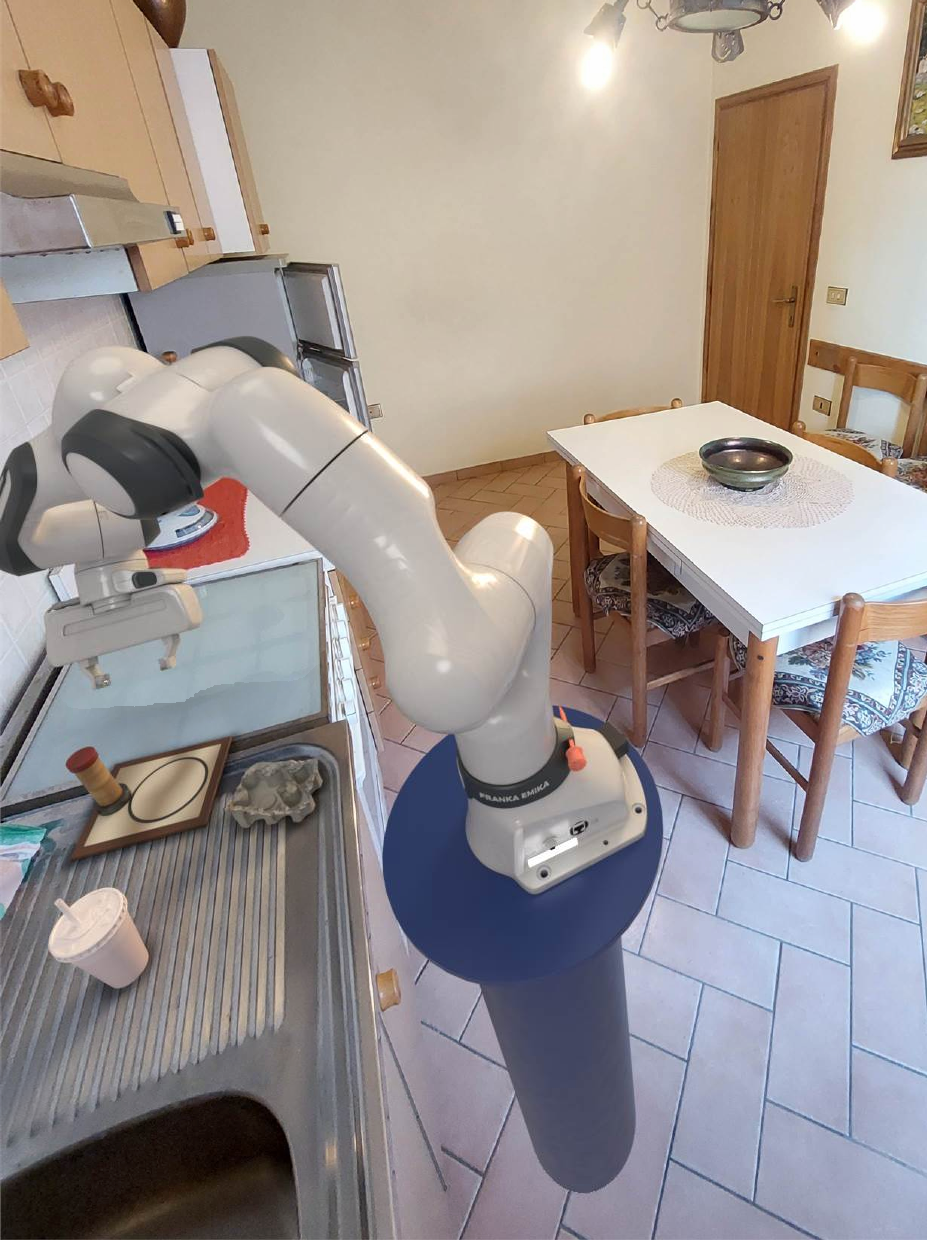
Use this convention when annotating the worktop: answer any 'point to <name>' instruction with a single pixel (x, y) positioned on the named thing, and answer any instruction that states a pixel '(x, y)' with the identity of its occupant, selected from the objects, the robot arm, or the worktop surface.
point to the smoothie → (99, 938)
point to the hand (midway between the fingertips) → (136, 678)
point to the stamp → (98, 781)
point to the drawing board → (159, 798)
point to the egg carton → (276, 792)
